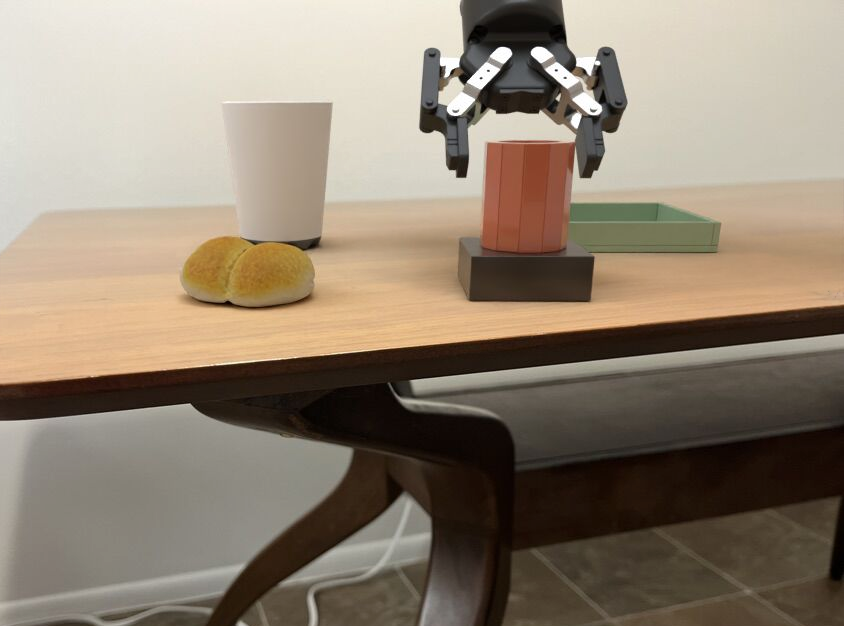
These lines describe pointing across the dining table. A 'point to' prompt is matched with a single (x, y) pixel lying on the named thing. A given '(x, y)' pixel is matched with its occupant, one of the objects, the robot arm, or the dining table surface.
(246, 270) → the bread roll
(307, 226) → the cup
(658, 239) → the tray
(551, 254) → the ring holder
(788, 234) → the dining table surface
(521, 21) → the robot arm
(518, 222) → the reddish-brown round cylinder
